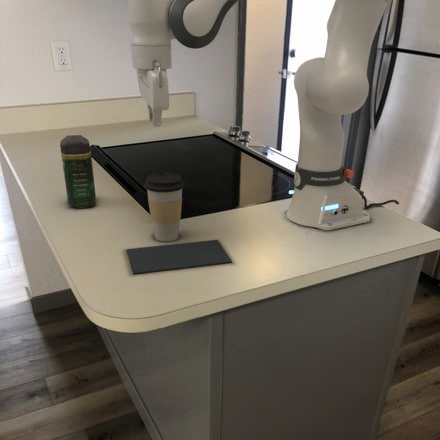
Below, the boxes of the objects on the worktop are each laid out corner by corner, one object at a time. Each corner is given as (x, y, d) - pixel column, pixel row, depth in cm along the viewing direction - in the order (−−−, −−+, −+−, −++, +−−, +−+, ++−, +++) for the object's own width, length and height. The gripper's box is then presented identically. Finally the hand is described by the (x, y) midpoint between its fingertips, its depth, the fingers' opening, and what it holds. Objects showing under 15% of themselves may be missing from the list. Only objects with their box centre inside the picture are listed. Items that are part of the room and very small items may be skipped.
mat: (217, 241, 119) (217, 239, 119) (231, 262, 109) (231, 261, 109) (126, 250, 113) (126, 249, 113) (133, 274, 103) (133, 272, 103)
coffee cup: (166, 226, 126) (164, 168, 118) (193, 236, 121) (192, 177, 113) (139, 237, 120) (135, 177, 112) (166, 248, 115) (164, 186, 107)
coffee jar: (97, 207, 137) (89, 140, 127) (68, 210, 135) (58, 141, 125) (96, 196, 145) (88, 132, 135) (68, 198, 143) (58, 133, 133)
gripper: (175, 64, 101) (177, 132, 108) (158, 55, 117) (160, 114, 124) (144, 64, 99) (148, 134, 106) (131, 55, 116) (136, 115, 123)
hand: (155, 123), depth 115 cm, fingers open, 4 cm apart
